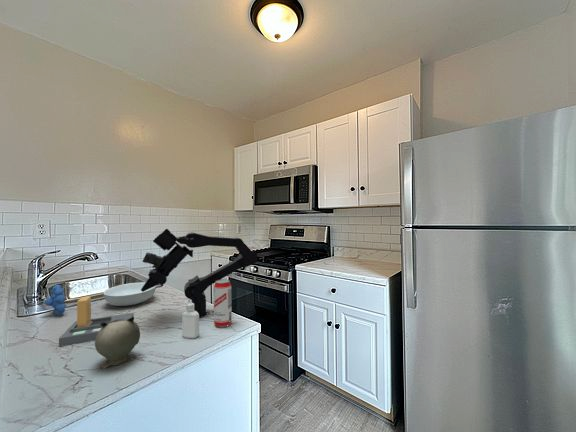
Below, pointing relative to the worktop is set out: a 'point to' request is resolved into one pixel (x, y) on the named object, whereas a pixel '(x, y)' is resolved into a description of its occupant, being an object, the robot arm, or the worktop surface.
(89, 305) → the switch tab
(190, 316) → the eye dropper bottle
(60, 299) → the grapes
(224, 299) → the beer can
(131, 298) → the serving bowl
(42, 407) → the worktop surface
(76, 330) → the switch housing
